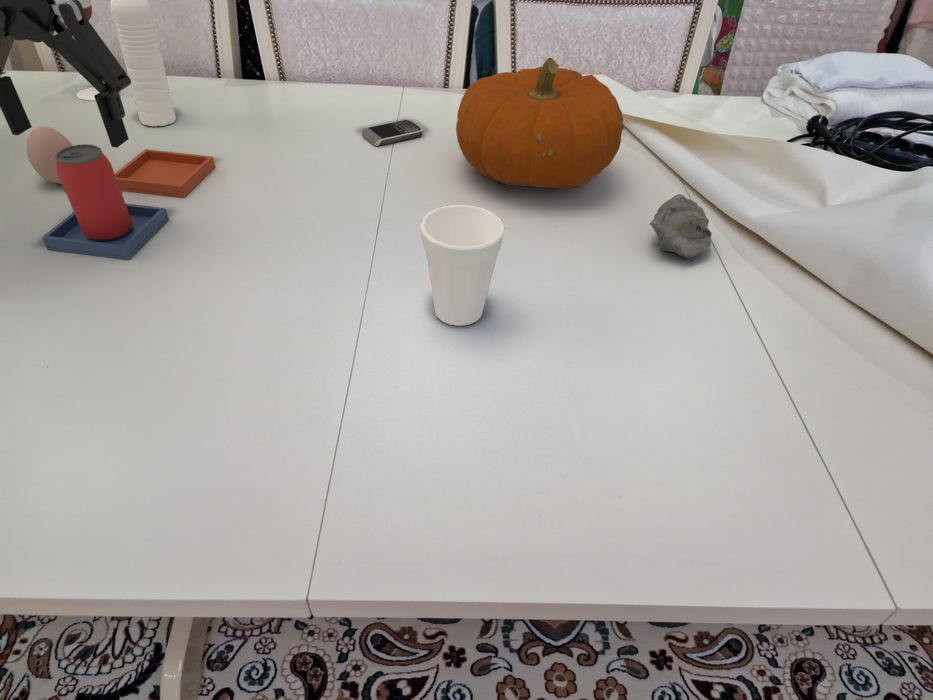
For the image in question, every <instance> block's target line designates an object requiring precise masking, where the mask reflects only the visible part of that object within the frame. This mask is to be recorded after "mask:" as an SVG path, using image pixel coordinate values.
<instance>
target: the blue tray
mask: <svg viewBox="0 0 933 700" xmlns="http://www.w3.org/2000/svg"><path fill="white" fill-rule="evenodd" d="M125 204H126V207H127V209H128V212H129V215H130V218H131V220H132V223H133V224H132V228H131V230H130V231H129V232H128V233H127V234H125V235H124V236H122V237H120V238H117V239H114V240H110V241H95V240H92V239H89V238H88V237H86V236H85V235H84V234H83V232H82V229H81V227H80V225H79V222H78V220H77V218H76V215H75V213H74V211H73V212H72V213H70V214H69V215H67V216H66V217H65V218H64V219H62V221H60V222H59V223H57V224H56V225H55V226H54V227H53V228H52V229H50V230H49V231H48V232H46V233H45V234H44V235H43V236H42V237H41V240H42V243H44V246H45V248H46V250H48V251H55V252H63V253H70V254H79V255H85V256H86V255H87V256H96V257H103V258H111V259H118V260H119V259H120V260H127V261H130V260H131V259H132V257H134V256H135V255H136V254H137V252H139V250H141V248H143V247H144V245H145V244H147V243H148V242H149V241H150V240H151V239H152V238H153V236H155V235H156V234H157V233H158V231H159V230H160V229H161V228H163V227H164V226H165V225H166V224H167V222H168V221H169V220H170V218H169V215H168V212H167V208H166V207H158V206H151V205H142V204H133V203H126V202H125Z"/></svg>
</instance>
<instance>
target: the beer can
mask: <svg viewBox="0 0 933 700" xmlns="http://www.w3.org/2000/svg"><path fill="white" fill-rule="evenodd" d="M55 158H56V160H57V173H58V176H59V178H60V180H61V183H62V184H61V185H62V187H63V190H64V192H65V194H66V197H67V199H68V201H69V204H70V206H71V209H72V211H73V212H74V213H75V215H76V218H77V220H78V222H79V225H80V227H81V229H82V232H83V234H84V235H85V236H86V237H88V238H89V239H92V240H95V241H110V240H114V239H117V238H120V237H122V236H124V235H125V234H127V233H128V232H129V231H130V230H131V228H132V224H133V223H132V220H131V218H130V215H129V212H128V209H127V207H126V204H127V203H126V201H125V199H124V195H123V192H122V190H120V187H119V185H118V182H117V179H116V176H115V170H114V168H113V166H112V163H111V161H110V160H109V158H108V157H107V156H106V154H104V152H103V150H102V148H101V147H100V146H98V145H95V144H89V143H88V144H87V143H86V144H85V143H83V144H75V145H74V144H73V145H72V146H70V147H66V148H64V149H62V150H60V151H59V152H58V153H57V154H56V156H55ZM125 203H126V204H125Z"/></svg>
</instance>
